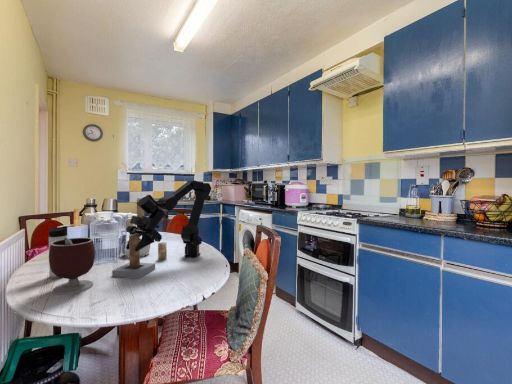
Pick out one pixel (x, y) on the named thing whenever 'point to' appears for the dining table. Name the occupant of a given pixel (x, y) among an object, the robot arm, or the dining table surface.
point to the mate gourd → (72, 263)
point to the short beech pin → (162, 251)
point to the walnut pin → (134, 255)
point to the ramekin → (143, 251)
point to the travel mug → (56, 235)
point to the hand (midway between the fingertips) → (131, 249)
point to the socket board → (133, 270)
